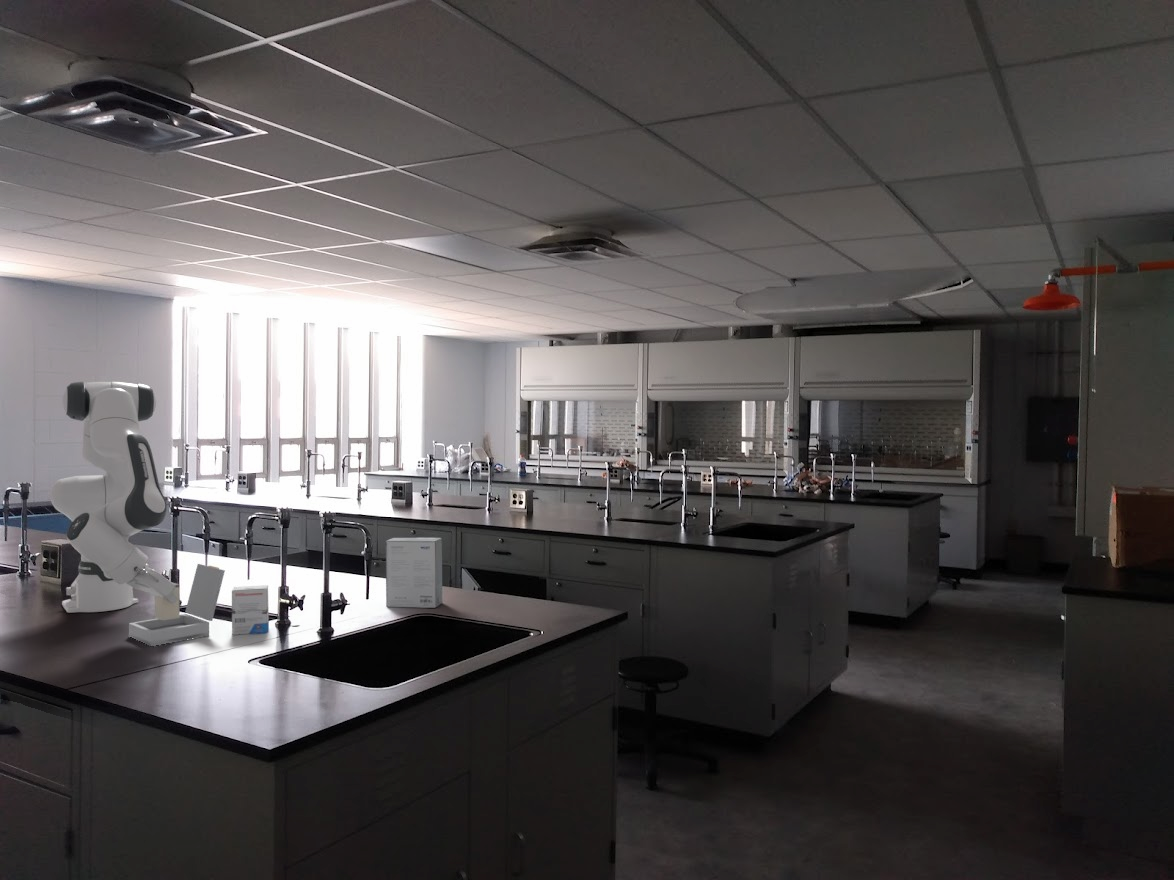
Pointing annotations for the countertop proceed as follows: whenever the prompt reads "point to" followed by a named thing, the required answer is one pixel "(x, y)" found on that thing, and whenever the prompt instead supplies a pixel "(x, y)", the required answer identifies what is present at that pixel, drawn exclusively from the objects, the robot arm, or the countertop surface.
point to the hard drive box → (414, 572)
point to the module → (167, 606)
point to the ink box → (250, 610)
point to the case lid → (205, 591)
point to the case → (168, 630)
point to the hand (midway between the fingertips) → (169, 599)
